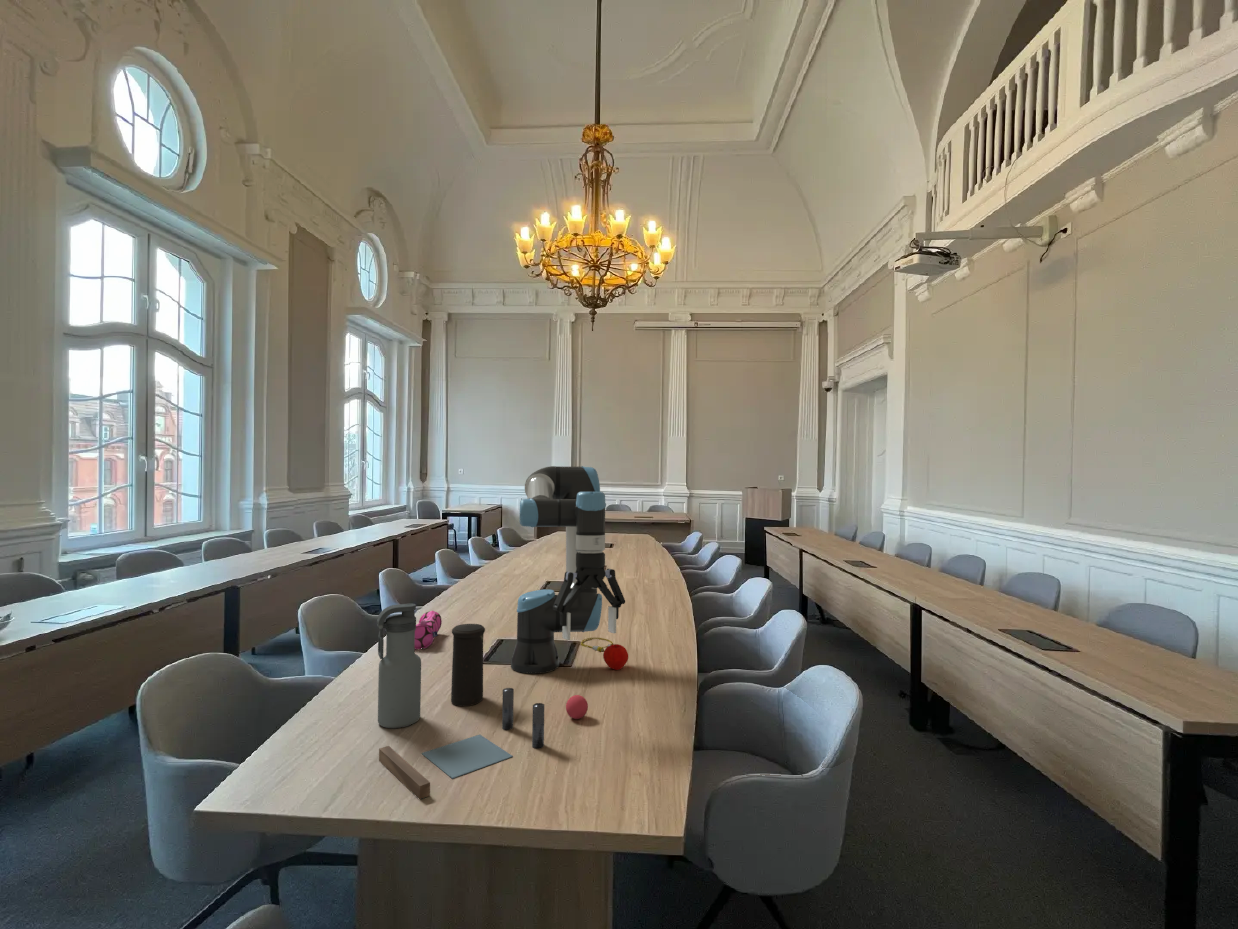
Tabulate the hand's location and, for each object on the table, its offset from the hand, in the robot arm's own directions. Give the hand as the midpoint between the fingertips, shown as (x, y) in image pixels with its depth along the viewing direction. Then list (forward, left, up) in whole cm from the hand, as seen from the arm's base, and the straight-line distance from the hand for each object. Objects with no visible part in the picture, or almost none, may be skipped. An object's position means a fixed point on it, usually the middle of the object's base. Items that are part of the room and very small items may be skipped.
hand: (589, 635), depth 151 cm
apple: (-29, -22, -20) cm, 41 cm away
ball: (+4, 0, -17) cm, 17 cm away
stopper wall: (+48, 0, -20) cm, 52 cm away
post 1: (+20, -6, -20) cm, 29 cm away
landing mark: (+34, 0, -20) cm, 39 cm away
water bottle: (+38, -27, -20) cm, 51 cm away
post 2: (+20, +7, -20) cm, 29 cm away
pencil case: (+3, -88, -20) cm, 90 cm away
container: (+19, -28, -20) cm, 39 cm away
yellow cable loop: (-41, -45, -20) cm, 64 cm away
